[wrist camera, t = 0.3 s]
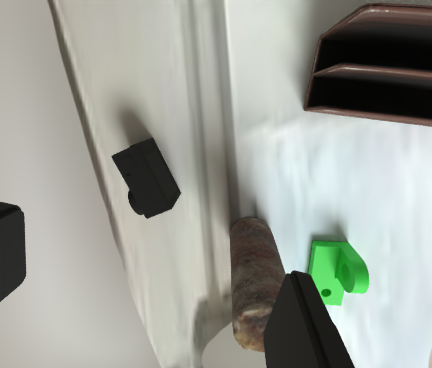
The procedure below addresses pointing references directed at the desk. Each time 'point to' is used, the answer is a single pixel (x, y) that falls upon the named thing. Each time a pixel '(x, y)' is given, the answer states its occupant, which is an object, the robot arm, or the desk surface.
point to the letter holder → (376, 65)
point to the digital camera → (147, 178)
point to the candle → (253, 280)
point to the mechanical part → (337, 270)
